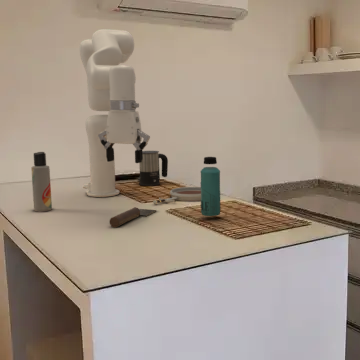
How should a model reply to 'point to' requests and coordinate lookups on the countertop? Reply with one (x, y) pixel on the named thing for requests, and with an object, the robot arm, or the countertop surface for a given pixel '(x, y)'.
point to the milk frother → (152, 168)
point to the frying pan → (183, 195)
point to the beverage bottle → (210, 188)
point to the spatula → (129, 216)
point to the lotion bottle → (41, 183)
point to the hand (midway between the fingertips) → (124, 161)
